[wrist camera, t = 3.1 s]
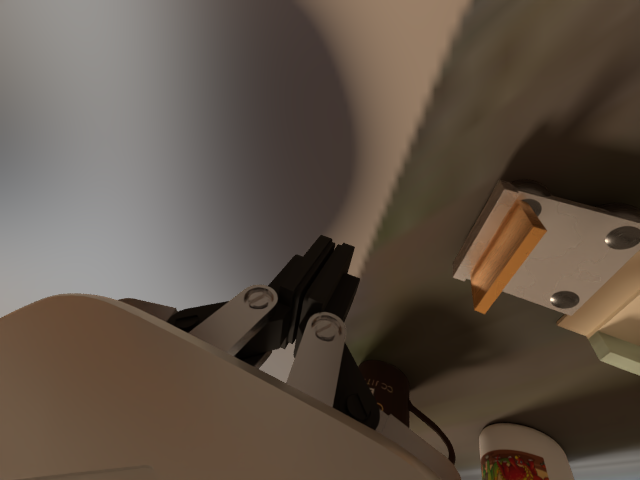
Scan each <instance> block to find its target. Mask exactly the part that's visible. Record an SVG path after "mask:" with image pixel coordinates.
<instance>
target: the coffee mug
mask: <svg viewBox="0 0 640 480" xmlns="http://www.w3.org/2000/svg"><path fill="white" fill-rule="evenodd" d="M358 368H359V370H360V371H361V373H362V375H363V377H364V379H365V381H366V383H367V384H368V386H369V388H370V390H371V392H372V394H373V396H374V398H375V399H376V401H377V404H378V407H379V409H380V410H382V411H383V412H384V413H385V414H387V415H388V416H389V415H390V414H391V415H393V416H394V417H395V418H397V419H398V420H399V421H400V422H402V423H403V424H404V425H406V426H407V427H408V428H409V411H411V412H413V413H414V414H415V415H416V416H417V417H418V418H420V419H421V420H422V421H423V422H425V423H426V424H427V425H428V426H429V427H430V428H432V429H433V430H434V431H435V432H436V433H437V434H438V435H439V436H440V437H441V439H442V440H443V442H444V443H445V444H446V446H447V448H448V451H449V458H448V459H449V460H450V461H451V462H452V463H453V464H455V453H454V449H453V446H452V444H451V443H450V441H449V439H448V438H447V437H446V435H445V434H444V433H443V432H442V431H441V429H440V428H439V427H438V426H437V425H436V424H435V423H434V422H433V421H431V420H430V419H429V418H428V417H427V416H425V415H424V414H423V413H422V412H420V411H419V410H418V409H417V408H415V407H414V406H413V405H412V403H411V402H410V400H409V382H408V380H407V378H406V376H405V375H404V374H403V373H402V372H401V371H400V370H399V369H397V368H396V367H394V366H392V365H390V364H388V363H386V362H382V361H377V360H369V361H365V362H363V363H361V364H360V365H359V367H358Z"/></svg>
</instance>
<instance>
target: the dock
mask: <svg viewBox="0 0 640 480" xmlns="http://www.w3.org/2000/svg"><path fill="white" fill-rule="evenodd" d="M556 324H557V325H558V326H560V327H563V328H566V329H568V330H571V331H574V332H576V333H579V334H582V335H585V336H586V337H587V338H588V340H589V342H590V344H591V345H592V347H593V349H594V351H595V353H596V354H597V356H598V358H599V360H600V361H603V362H605V363H608V364H610V365H613V366H616V367H618V368H621V369H623V370H626V371H629V372H631V373H634V374H636V375H639V376H640V250H639V251H638V252H637V253H636V254H635V255H634V256H632V257H631V258H630V259H629V260H628V261H627V262H626V263H625V264H624V265H623V266H622V267H621V268H620V269H619V270H618V271H617V272H616V273H615V274H614V275H613V276H612V277H611V278H610V279H609V280H608V281H607V282H606V283H605V284H604V285H603V286H602V287H601V288H600V289H599V290H598V291H597V292H596V293H595V294H594V295H592V296H591V297H590V298H589V299H588V300H587V301H586V302H585V303H584V304H583V305H582V306H581V307H580V308H579V309H578V310H577V311H576V312H575V313H574V314H573V315H572V316H570V315H567V314H564V315H563V316H562V317H561V318H560V319H559V320H558V321H557V322H556Z"/></svg>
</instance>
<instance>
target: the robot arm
mask: <svg viewBox="0 0 640 480" xmlns="http://www.w3.org/2000/svg"><path fill="white" fill-rule="evenodd" d="M334 248H335V243H333V242H332V239H331V238H328V237H326V236H323V235H321V236H320V237H319V238H318V239H317V240H316V242H315V243H314V244H313V245H312V246H311V248H310V249H309V250H308V252H306V254H305V255H304V256H303V257H302V256H300V255H295V256H294V257H293V258H292V259H291V260H290V261H289V263H288V264H287V265H286V266H285V267H284V268H283V269H282V271H281V272H280V273H279V274H278V275H277V276H276V277H275V279H274V280H273V281H272V282H271V283H270V284H269V285H268V286H265V285H253V286H250V287H248V288H246V289H244V290H243V291H242V292H241V293H239V294H238V295H237V296H235V297H234V298H233V299H232V300H230V301H227V302H222V303H216V304H211V305H205V306H200V307H194V308H188V309H184V310H182V311H179V312H178V311H177V310H176V308H173V307H168V306H164V305H160V304H155V303H150V302H146V301H141V300H137V299H131V298H125V299H120V300H114V299H111V298H107V297H103V296H97V295H89V294H59V295H55V296H50V297H47V298H44V299H41V300H39V301H36V302H34V303H31V304H29V305H27V306H24V307H22V308H20V309H18V310H16V311H14V312H12V313H10V314H8V315H6V316H4V317H2V318H0V480H461V477H460V474H459V473H458V471H457V469H456V468H455V466H454V464H453V463H452V462H451V461H450V460H449V459H448V458H447V457H446V456H444V455H443V454H442V453H440V452H439V451H438V450H437V449H435V448H434V447H433V446H431V445H430V444H429V443H428V442H426V441H425V440H424V439H422V438H421V437H420V436H419V435H417V434H416V433H415V432H413V431H412V430H411V429H410V428H408V427H407V426H406V425H404V424H403V423H402V422H400V421H399V420H398V419H397V418H395V417H394V416H393V415H391V414H390V415H389V416H388V415H387V414H385V413H384V412H383V411H382V410H380V409H379V407H378V404H377V401H376V399H375V398H374V396H373V394H372V392H371V390H370V388H369V386H368V384H367V383H366V381H365V379H364V377H363V375H362V373H361V371H360V370H359V368H358V366H357V364H356V362H355V360H354V358H353V357H352V355H351V353H350V351H349V349H348V347H347V345H346V344H345V337H346V327H345V324H344V322H345V319H346V317H347V314H348V312H349V310H350V307H351V305H352V302H353V299H354V297H355V294H356V291H357V288H358V285H359V281H360V278H357V277H354V276H352V275H349V274H347V273H348V269H349V266H350V262H351V259H352V255H353V252H354V248H355V247H354V246H351V245H348V244H345V243H343V244H342V245H339V244H338V245H337V247H336V248H335V250H334ZM295 339H296V343H295V349H294V358H295V360H294V362H293V365H292V368H291V371H290V374H289V377H288V380H287V383H284V382H282V381H280V380H278V379H276V378H275V377H273V376H271V375H269V374H267V373H265V372H263V371H261V370H259V368H260V367H261V365H262V364H263V363H264V362H265V361H266V360H267V358H268V357H269V356H270V354H271V353H272V350H275V349H279V348H280V347H281V348H283V349H285V348H286V346H287V345H288V343H291V344H293V343H294V341H295Z"/></svg>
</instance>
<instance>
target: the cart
mask: <svg viewBox="0 0 640 480" xmlns="http://www.w3.org/2000/svg"><path fill="white" fill-rule="evenodd" d="M639 250H640V209H638V208H636V207H634V206H631V205H627V204H620V203H611V204H605V205H601V206H598V207H593V206H589V205H585V204H582V203H578V202H574V201H570V200H566V199H563V198H559V197H555V196H551V194H550V192H549V190H548V189H547V188H546V187H545V186H544V185H543V184H541V183H539V182H537V181H534V180H527V179H524V180H517V181H513V182H511V183H509V182H506V181H502V180H499V181H498V183H497V185H496V187H495V188H494V190H493V192H492V194H491V195H490V197H489V199H488V201H487V203H486V204H485V206H484V208H483V210H482V211H481V213H480V215H479V217H478V219H477V220H476V222H475V224H474V226H473V228H472V229H471V231H470V233H469V235H468V236H467V238H466V240H465V242H464V244H463V245H462V247H461V249H460V251H459V252H458V254H457V256H456V258H455V260H454V261H453V277H454V278H456V279H459V280H462V281H465V280H466V278H467V279H470V280H471V286H472V295H473V303H474V310H475V311H478V312H481V313H483V314H485V313H486V312H487V310H488V309H489V308H490V306H491V305H492V304H493V302H494V301H495V300H496V298H497V297H498V296H499V294H500V293H501V292H502V291H503V292H506V293H509V294H512V295H514V296H517V297H520V298H523V299H525V300H528V301H531V302H534V303H537V304H539V305H542V306H545V307H548V308H551V309H553V310H556V311H559V312H562V313H564V314H567V315H570V316H572V315H573V314H574V313H575V312H576V311H577V310H578V309H579V308H580V307H581V306H582V305H583V304H584V303H585V302H586V301H587V300H588V299H589V298H590V297H591V296H592V295H594V294H595V293H596V292H597V291H598V290H599V289H600V288H601V287H602V286H603V285H604V284H605V283H606V282H607V281H608V280H609V279H610V278H611V277H612V276H613V275H614V274H615V273H616V272H617V271H618V270H619V269H620V268H621V267H622V266H623V265H624V264H625V263H626V262H627V261H628V260H629V259H630V258H631V257H632V256H634V255H635V254H636V253H637V252H638V251H639Z"/></svg>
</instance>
